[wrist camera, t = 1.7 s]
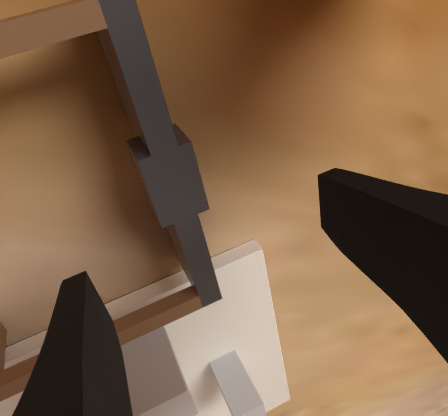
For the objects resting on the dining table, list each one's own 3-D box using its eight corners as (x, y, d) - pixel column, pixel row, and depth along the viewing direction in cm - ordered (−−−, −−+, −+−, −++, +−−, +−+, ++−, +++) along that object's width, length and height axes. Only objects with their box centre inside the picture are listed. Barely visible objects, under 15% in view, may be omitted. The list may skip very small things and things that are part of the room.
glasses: (-15, 339, 20) (-23, 412, 16) (-247, 75, 12) (-343, 115, 9) (202, 246, 22) (232, 293, 19) (122, -22, 15) (149, -17, 11)
